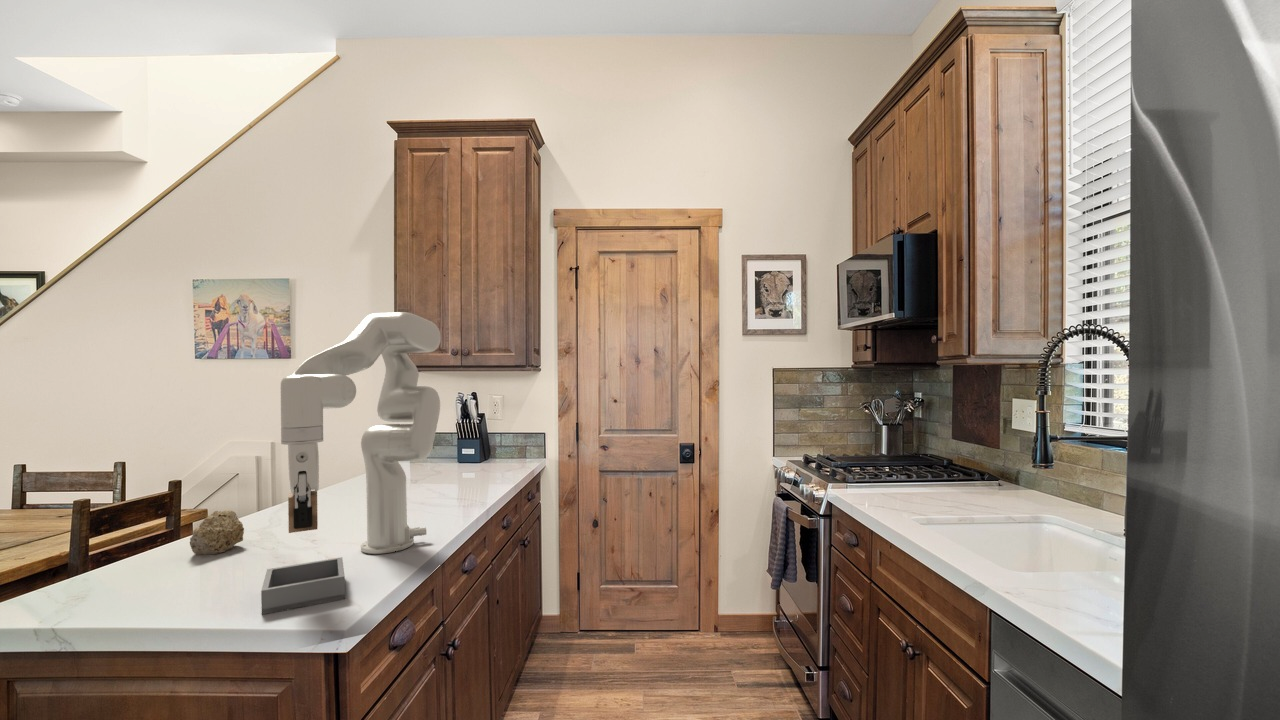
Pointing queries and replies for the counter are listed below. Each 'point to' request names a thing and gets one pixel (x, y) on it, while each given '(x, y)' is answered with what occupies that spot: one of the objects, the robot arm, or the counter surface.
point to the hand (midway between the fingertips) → (303, 523)
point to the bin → (303, 585)
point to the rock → (217, 533)
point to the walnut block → (291, 512)
